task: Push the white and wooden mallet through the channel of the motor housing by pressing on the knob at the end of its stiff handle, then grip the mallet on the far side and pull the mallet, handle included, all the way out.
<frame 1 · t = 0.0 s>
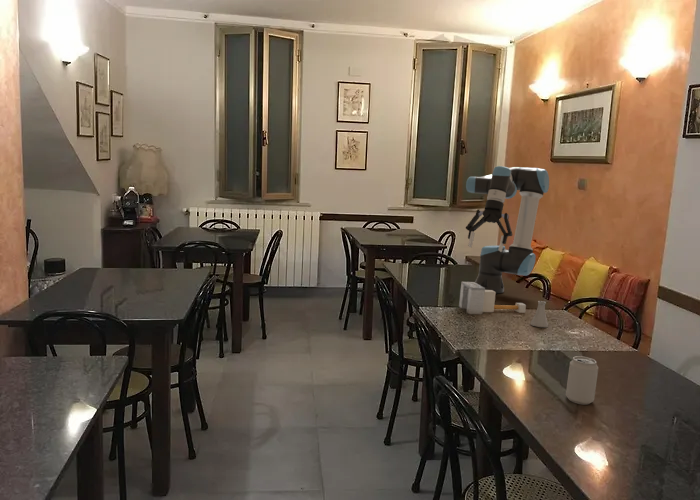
hand: (484, 248, 258), 28 cm above the table, tool tilted 20°, fingers open, 13 cm apart
white and wooden mallet: (485, 310, 265), on the table
housing: (470, 310, 264), on the table
can: (579, 400, 168), on the table
flask: (538, 326, 246), on the table
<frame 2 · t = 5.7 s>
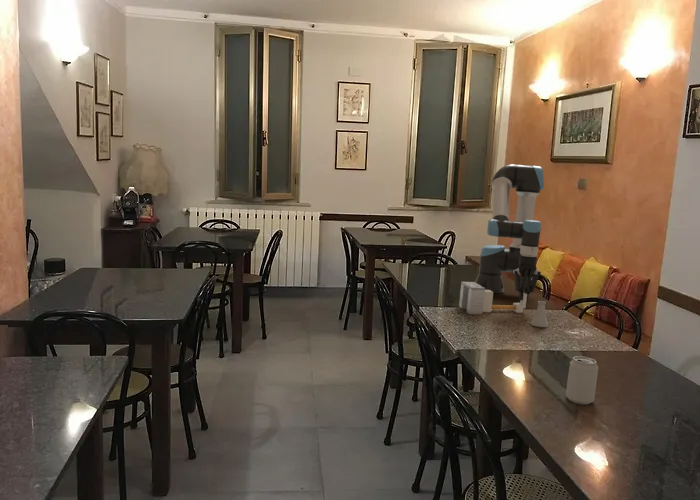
hand: (522, 307, 268), 2 cm above the table, tool pointing down, fingers closed
white and wooden mallet: (482, 310, 265), on the table, touching gripper
everything else where it was.
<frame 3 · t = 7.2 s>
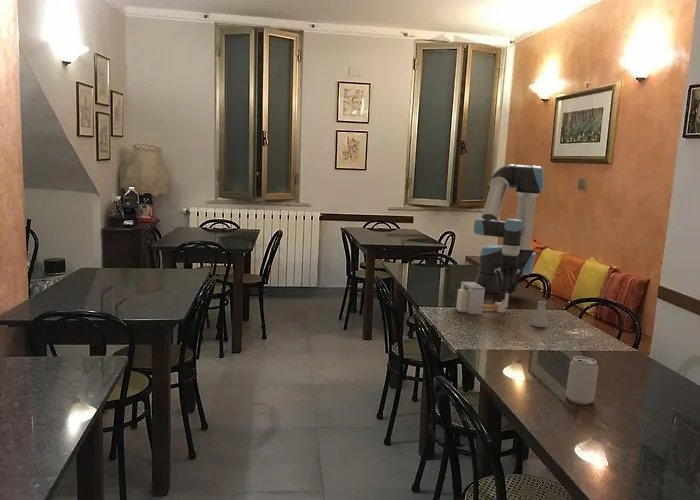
hand: (504, 306, 266), 2 cm above the table, tool pointing down, fingers closed
white and wooden mallet: (464, 310, 263), on the table, touching gripper
everything else where it was.
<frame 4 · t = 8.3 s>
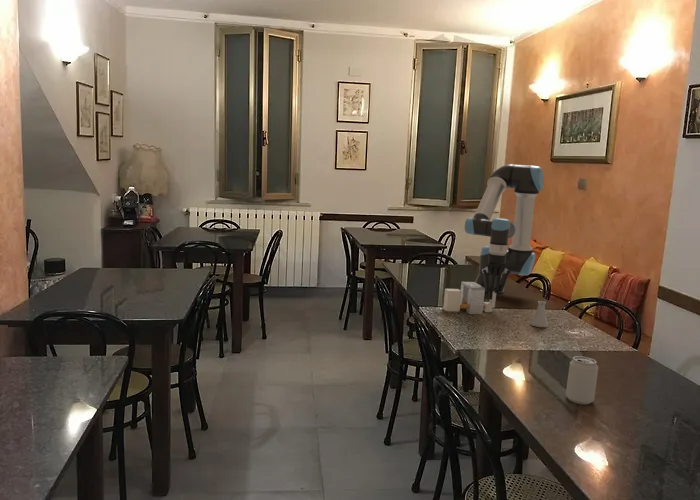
hand: (491, 306, 265), 2 cm above the table, tool pointing down, fingers closed
white and wooden mallet: (451, 310, 262), on the table, touching gripper
everything else where it was.
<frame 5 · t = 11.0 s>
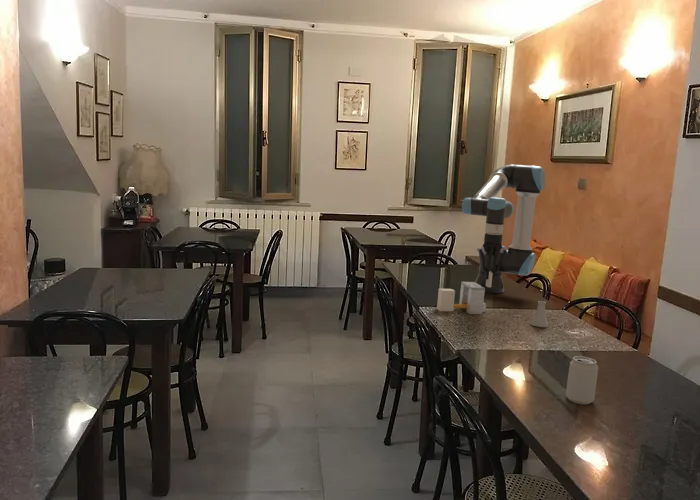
hand: (488, 286, 264), 11 cm above the table, tool pointing down, fingers closed
white and wooden mallet: (444, 309, 261), on the table
everything else where it was.
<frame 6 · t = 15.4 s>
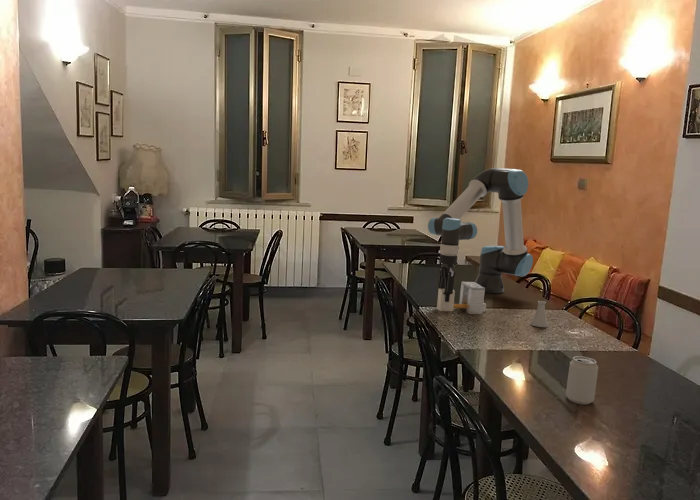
hand: (443, 307, 261), 1 cm above the table, tool pointing down, fingers closed on white and wooden mallet, 4 cm apart
white and wooden mallet: (444, 309, 261), on the table, touching gripper
everything else where it was.
when the fingers open (1 cm above the table, at t = 18.6 s): white and wooden mallet stays where it is, on the table.
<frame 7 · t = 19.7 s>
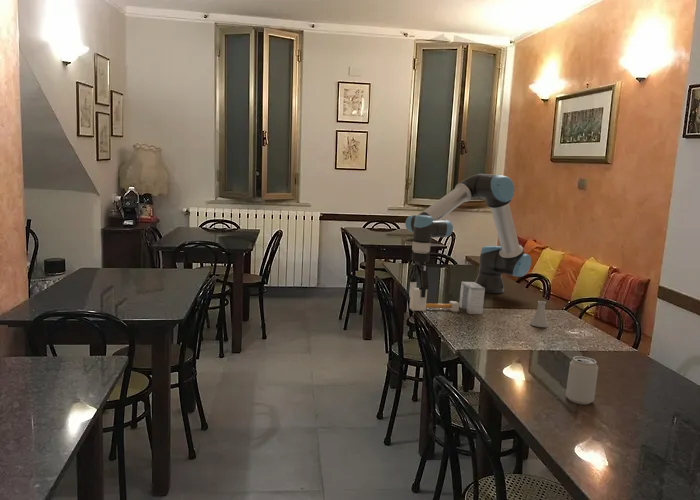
hand: (416, 300, 258), 4 cm above the table, tool pointing down, fingers open, 13 cm apart
white and wooden mallet: (417, 309, 259), on the table
everything else where it was.
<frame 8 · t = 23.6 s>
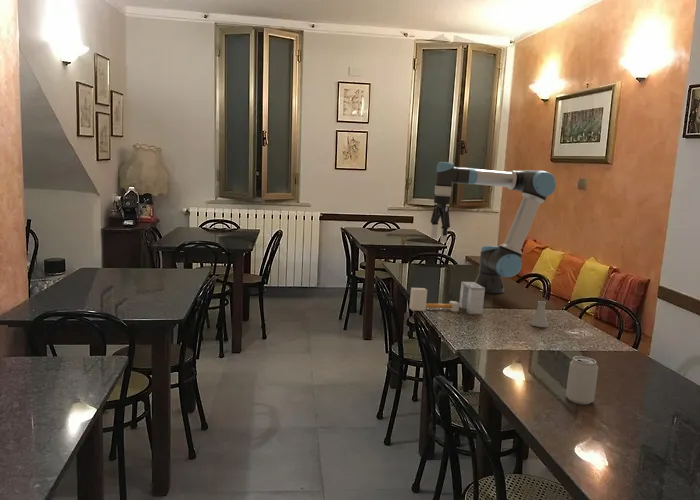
hand: (438, 240, 284), 27 cm above the table, tool pointing down, fingers open, 13 cm apart
nothing on the table moved.
at the end: white and wooden mallet inside the target area (0.2 cm from its centre), on the table; white and wooden mallet touching table; white and wooden mallet tilted 0° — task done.
